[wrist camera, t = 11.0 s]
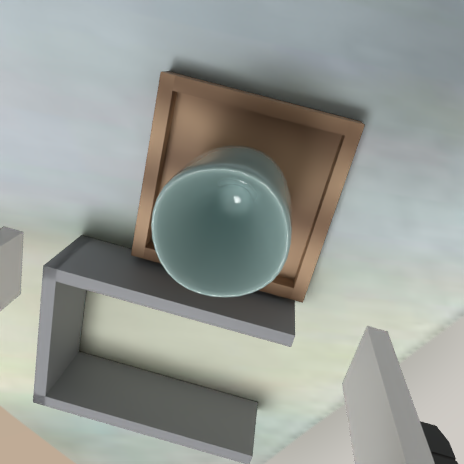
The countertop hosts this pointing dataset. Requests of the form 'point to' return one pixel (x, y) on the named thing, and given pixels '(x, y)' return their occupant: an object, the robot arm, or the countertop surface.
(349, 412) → the robot arm
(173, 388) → the bay
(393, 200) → the countertop surface
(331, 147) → the tray
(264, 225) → the cup
